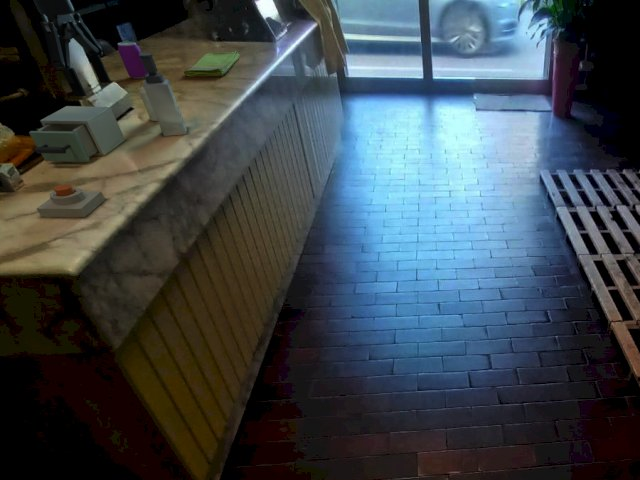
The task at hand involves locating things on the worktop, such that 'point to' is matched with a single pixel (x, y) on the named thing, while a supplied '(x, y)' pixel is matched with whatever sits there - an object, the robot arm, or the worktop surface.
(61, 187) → the button
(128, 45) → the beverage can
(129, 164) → the worktop surface
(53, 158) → the drawer
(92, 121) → the cabinet
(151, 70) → the soap dispenser
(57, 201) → the control block
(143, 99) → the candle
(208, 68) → the dish towel
